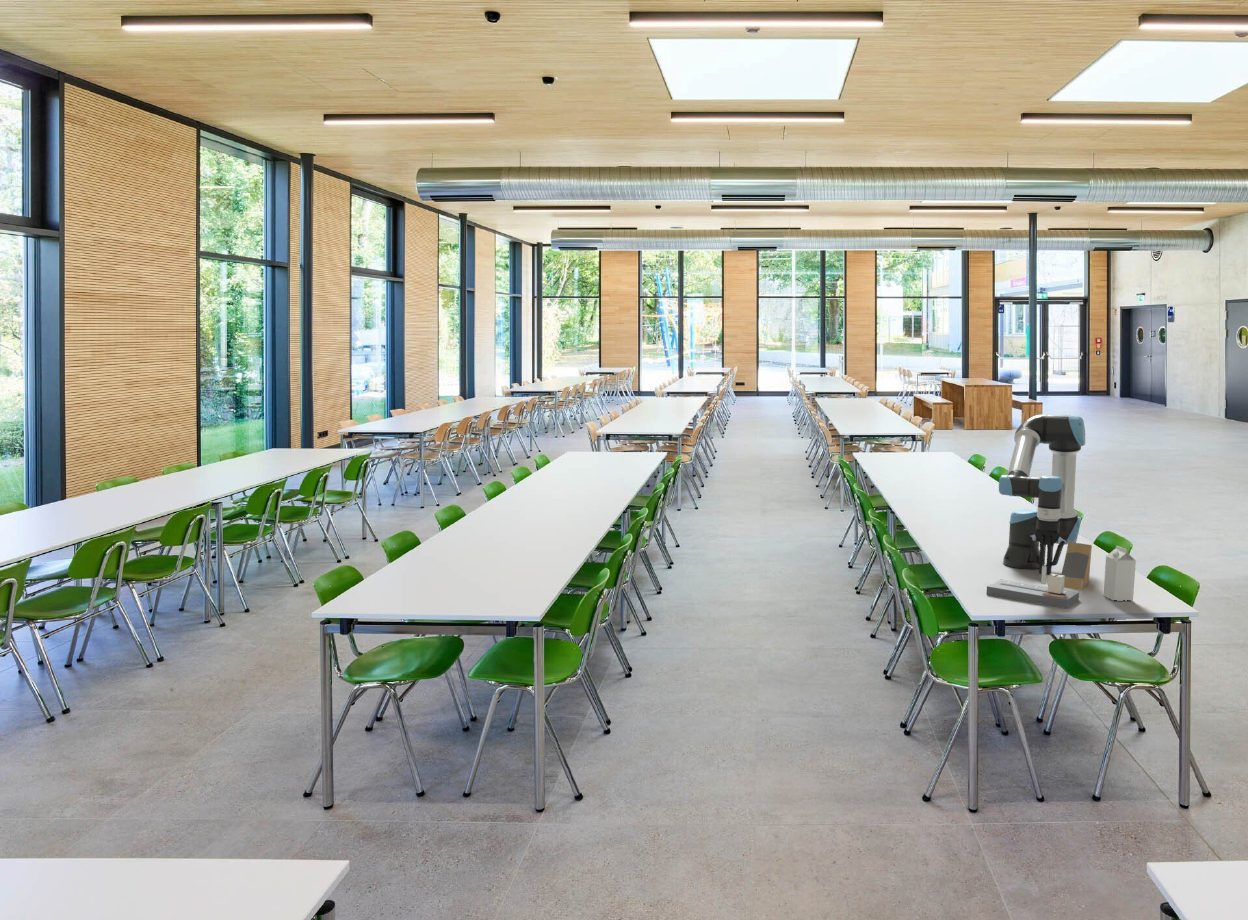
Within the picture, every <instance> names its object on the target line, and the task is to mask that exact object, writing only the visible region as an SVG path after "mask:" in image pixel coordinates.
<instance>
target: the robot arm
mask: <svg viewBox="0 0 1248 920" xmlns="http://www.w3.org/2000/svg"><path fill="white" fill-rule="evenodd" d="M1014 433H1015V434H1014V436H1013V437H1014V438H1013V439H1014V443H1015V444H1014V447H1013V451H1012V456H1011V459H1010V463H1009V467H1008V470H1007V471H1008V472H1007V474H1003V475H1001V476H1000V477H999V480H998V493H999V494H1000V495H1002V496H1009V497H1023V498H1035V499H1037V500H1038V501H1037V509H1035V508H1030V509H1029V508H1027V509H1025V508H1024V509H1018V510H1015V511H1012V512H1011V514H1010V519H1009V522H1008V523H1009V533H1008V535H1009V536H1008V546H1007V548H1006V550H1005V553H1004V555H1003V561H1002V563H1003V564H1004V565H1005V566H1008V567H1010V568H1015V569H1026V570H1027V569H1028V570H1030V569H1031V570H1032V569H1035V570H1036V569H1038V573H1039V575H1041V579H1040V581H1041V582H1040V584H1042V585H1048V576H1049V575H1050V574H1052V568H1053V566H1056V565H1058V563H1059V560H1060V557H1061V555H1062V551H1063V548H1064V546H1065V545H1068V542H1072V543H1077V541H1078V536H1079V533H1080V532H1079V531H1080V527H1081V523H1082V517H1081V516H1078V511H1077V510H1076V509H1075V491H1076V489H1075V488H1076V468H1077V453H1079V452H1080V451H1081V449H1082V447H1083V446H1085V445H1086V427H1085V421H1084V419H1083V417H1081V416H1080V415H1071V414H1069V415H1068V414H1066V415H1065V414H1037V415H1033V416H1030V417H1029V418H1027V419H1026V420H1024V421H1023V422H1022V423H1021V424H1020V425H1019V426H1018V427H1017V429H1016V431H1015V432H1014ZM1040 444H1044V445H1048V450H1050V451H1051V452H1052V461H1051V463H1052V464H1051V465H1052V466H1051V475H1042V476H1040V477H1037V476H1036V477H1035V476H1034V477H1032V476H1030V475H1031V469H1032V465H1033V462H1034V461H1033V460H1034V456H1035V452H1036V448H1037V447H1038V446H1039V445H1040ZM1055 544H1057V548H1056V550H1055V552H1054V545H1055ZM1046 548H1047V550H1046ZM1053 555H1054V556H1053Z"/></svg>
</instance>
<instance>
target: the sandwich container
mask: <svg viewBox="0 0 1248 920" xmlns="http://www.w3.org/2000/svg"><path fill="white" fill-rule="evenodd" d="M1066 547H1067V548H1066V551H1065V552H1066V553H1065V558H1064V561H1063V565H1062V569H1061V574H1060V575H1064V576H1065V578H1064V589H1070V590H1076V591H1082V590H1083V589H1085V587H1086V586H1087V585H1088V584H1089V583H1090V573H1091V560H1092V547H1093V545H1092V544H1086V543H1080V542H1076V543H1072V542H1068V544H1067V546H1066Z"/></svg>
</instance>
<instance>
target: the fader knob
mask: <svg viewBox="0 0 1248 920" xmlns="http://www.w3.org/2000/svg"><path fill="white" fill-rule="evenodd" d="M1064 578H1065V576H1064V575H1061V574H1058V573H1051V574H1050V575H1048V583H1047V587H1048V592H1052V593H1058V594H1061V593H1063V592H1064V590H1065V588H1064Z"/></svg>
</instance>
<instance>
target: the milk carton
mask: <svg viewBox="0 0 1248 920" xmlns="http://www.w3.org/2000/svg"><path fill="white" fill-rule="evenodd" d="M1136 564H1137V561H1136V559H1135V558H1134V557H1133V556H1132V555H1130V554H1129V553H1128V549H1127V548H1123V547H1121V546H1119V545H1115V548H1114V549H1113V550H1112V551H1111V552H1109V553H1108V554H1107V555H1106V557H1105V565H1104V566H1105V567H1104V581H1103V597H1105V598H1107V599H1109V598H1110V599H1109V600H1111V601H1113V600H1117V601H1116V602H1124V601H1123V600H1125V602H1128V601H1127V600H1131V601H1130V602H1132V601H1134V592H1135V591H1134V589H1135V578H1136V577H1135V575H1136Z"/></svg>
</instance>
